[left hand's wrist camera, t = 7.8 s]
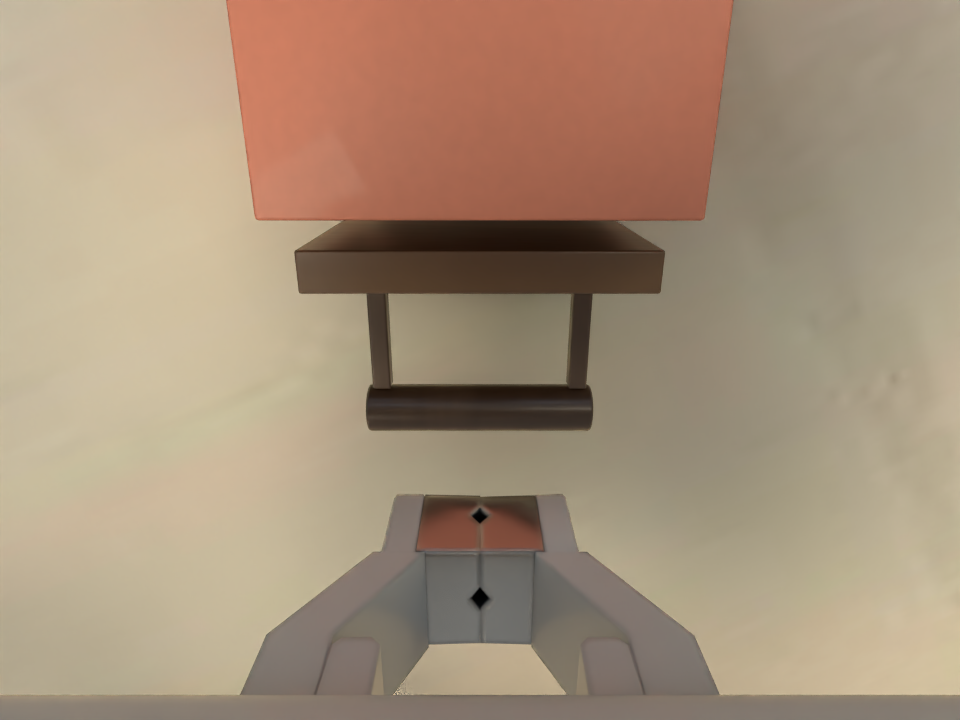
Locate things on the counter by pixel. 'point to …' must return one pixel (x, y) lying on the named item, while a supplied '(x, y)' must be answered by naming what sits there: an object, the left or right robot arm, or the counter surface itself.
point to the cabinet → (480, 107)
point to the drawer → (479, 270)
